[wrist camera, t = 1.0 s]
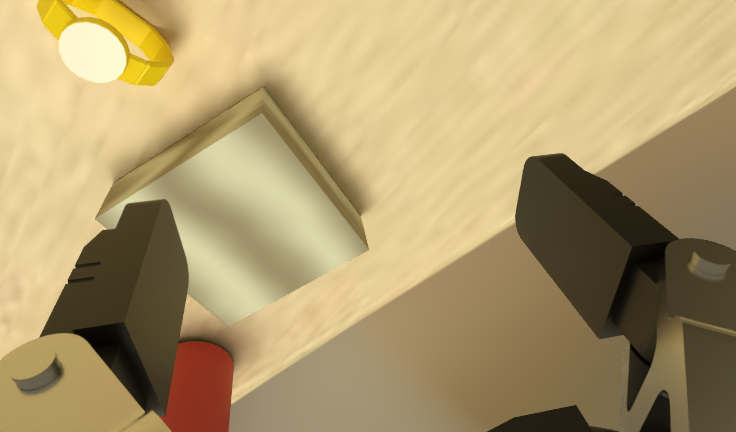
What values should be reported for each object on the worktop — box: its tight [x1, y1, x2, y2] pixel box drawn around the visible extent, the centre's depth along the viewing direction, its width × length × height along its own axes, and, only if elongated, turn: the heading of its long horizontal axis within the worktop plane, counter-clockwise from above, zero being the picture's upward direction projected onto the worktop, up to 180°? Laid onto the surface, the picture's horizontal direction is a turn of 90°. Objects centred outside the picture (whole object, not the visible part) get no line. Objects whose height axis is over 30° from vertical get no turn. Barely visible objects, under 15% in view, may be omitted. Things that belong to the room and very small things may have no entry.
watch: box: [37, 0, 174, 86], centre depth 24 cm, size 6×3×6 cm, turn 46°
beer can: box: [160, 341, 234, 432], centre depth 38 cm, size 7×7×12 cm
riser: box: [95, 87, 369, 327], centre depth 32 cm, size 12×12×4 cm
